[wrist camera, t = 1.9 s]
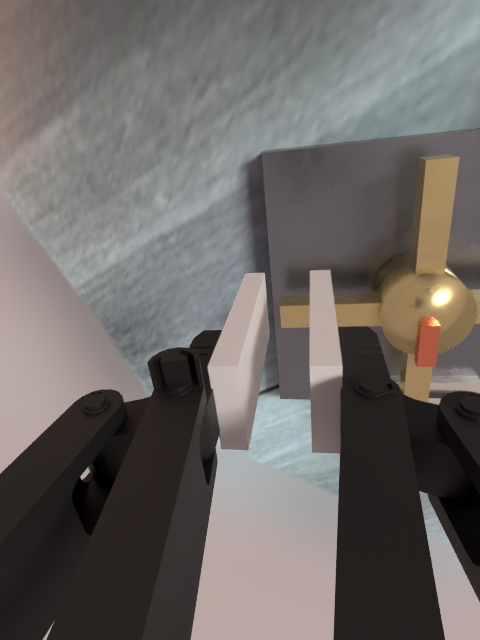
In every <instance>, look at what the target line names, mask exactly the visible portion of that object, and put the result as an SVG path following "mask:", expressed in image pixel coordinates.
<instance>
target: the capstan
mask: <svg viewBox="0 0 480 640" xmlns="http://www.w3.org/2000/svg"><path fill="white" fill-rule="evenodd" d="M458 165H459V157H457V156H454V155H450V154H449V155H438V156H428V157H419V161H418V172H417V184H416V195H415V207H414V218H413V230H412V242H411V253H409V254H404V255H401V256H399V257H396V258H394V259H393V260H391V261H389V262H388V263H387V264H386V265H384V266H383V268H382V269H381V270H380V271H379V272H378V274H377V275H376V277H375V280H374V282H373V286H372V293H360V294H333V295H334V303H335V311H336V319H337V327H350V326H382V329H383V332H384V334H385V336H386V338H387V339H388V341H389V342H390V343H391V344H392V345H393V346H394V347H396V348H397V349H399V350H400V351H402V358H401V369H400V381H399V387H400V389H401V391H402V393H403V394H404V395H406V396H408V397H411V398H413V399H416V400H420V401H424V402H428V399H429V391H430V383H431V376H432V368H433V367H435V366H436V358H437V354H440V353H443V352H446V351H448V350H450V349H452V348H454V347H455V346H457V345H458V344H460V343H461V342H462V341H463V340H464V339H465V338H466V337H467V336H468V335H469V333H470V332H471V330H472V329H473V327H474V324H480V289H474V290H468V288H467V287H466V286H465V285H464V284H463V283H462V282H461V281H460V280H459V278H458V277H457V276H456V275H455V274H454V273H453V272H452V271H451V270H450V269H449V267H448V266H447V265H446V259H447V251H448V243H449V235H450V228H451V220H452V212H453V204H454V196H455V189H456V181H457V173H458ZM280 316H281V328H306V327H310V295H303V296H281V302H280Z"/></svg>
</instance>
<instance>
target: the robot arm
mask: <svg viewBox="0 0 480 640" xmlns="http://www.w3.org/2000/svg"><path fill="white" fill-rule="evenodd" d="M269 336H270V331H269V319H268V307H267V295H266V282H265V273H247V274H245V276H244V278H243V281H242V283H241V286H240V288H239V291H238V293H237V296H236V298H235V300H234V303H233V305H232V308H231V310H230V313H229V315H228V318H227V320H226V322H225V325H224V327H223V330H208V331H203V332H201V333H200V334H199V335H197V336H196V337H195V338H194V339H193V341H192V343H191V345H190V348H180V347H178V348H172V349H167V350H165V351H162V352H159V353H158V354H156V355H154V356H153V357H152V358H151V359H150V360H149V361H148V366H149V370H150V375H151V379H152V383H153V387H154V391H153V393H152V395H151V397H148V398H144V399H140V400H135V401H130V402H125V403H124V401H123V397H122V395H121V394H120V393H119V392H118V391H115V390H111V389H110V390H98V391H94V392H91V393H89V394H87V395H85V396H82V397H81V398H80V399H78V400H77V401H76V402H74V403H73V405H71V406H70V407H69V408H68V409H67V410H66V411H65V412H64V413H63V414H62V415H61V416H60V417H59V418H58V419H57V420H56V421H55V422H54V423H53V424H52V425H51V426H50V427H48V428H47V429H46V430H45V431H44V432H43V433H42V434H41V435H40V436H39V437H38V438H37V439H36V440H35V441H34V442H33V443H32V444H31V445H30V446H29V447H28V448H27V449H26V450H25V451H24V452H23V453H21V454H20V455H19V456H18V457H17V458H16V459H15V460H14V461H13V462H12V463H11V464H10V465H9V466H8V467H7V468H6V469H5V470H4V471H3V472H2V473H1V474H0V640H42V639H43V638H44V636H45V635H46V633H47V631H48V630H49V628H50V627H51V625H52V624H53V622H54V624H53V626H52V628H51V631H50V633H49V635H48V637H47V640H190V639H191V632H192V626H193V620H194V613H195V606H196V600H197V593H198V587H199V580H200V574H201V567H202V561H203V554H204V548H205V541H206V535H207V528H208V521H209V515H210V507H211V502H212V495H213V488H214V482H215V476H216V469H217V454H216V448H215V447H216V444H217V440H218V437H219V438H220V444H221V449H235V450H248V449H249V444H250V438H251V433H252V427H253V422H254V417H255V411H256V406H257V400H258V395H259V390H260V384H261V379H262V373H263V368H264V363H265V357H266V352H267V346H268V341H269ZM309 367H310V397H311V426H312V452H316V453H340V475H339V503H338V504H339V505H338V531H337V533H338V534H337V560H336V589H335V616H334V640H445V637H444V631H443V626H442V620H441V614H440V608H439V604H438V597H437V591H436V585H435V580H434V575H433V568H432V562H431V557H430V551H429V545H428V540H427V534H426V528H425V522H424V517H423V511H422V505H421V499H420V494H419V491H421V492H424V493H427V494H428V498H429V500H430V502H431V504H432V506H433V508H434V510H435V512H436V514H437V517H438V519H439V521H440V523H441V525H442V527H443V529H444V531H445V533H446V535H447V537H448V539H449V541H450V543H451V545H452V547H453V549H454V551H455V553H456V554H457V557H458V559H459V561H460V563H461V565H462V567H463V569H464V571H465V573H466V575H467V577H468V579H469V581H470V583H471V585H472V587H473V589H474V591H475V593H476V595H477V597H478V599H479V601H480V393H476V392H472V391H456V392H452V393H448V394H446V395H445V396H444V397H442V398H441V400H440V403H439V405H438V404H433V403H428V402H424V401H420V400H416V399H413V398H411V397H408V396H406V395H404V394H403V393H402V391H401V389H400V387H399V385H398V384H397V383H396V382H394V381H393V380H392V379H391V378H390V375H389V371H388V368H387V365H386V362H385V358H384V355H383V353H382V348H381V345H380V342H379V339H378V335H377V334H376V333H375V332H374V331H373V330H372V329H371V328H369V327H368V326H350V327H337V319H336V311H335V303H334V295H333V287H332V280H331V272H330V270H312V271H310V358H309ZM87 467H88V468H89V470H90V473H89V474H88V475H87V476H86V477H85V478H84V479H83V480H81V478H80V476H81V475H82V474H83V472H84V471H85V470H86V469H87Z"/></svg>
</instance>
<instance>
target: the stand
mask: <svg viewBox="0 0 480 640" xmlns="http://www.w3.org/2000/svg"><path fill="white" fill-rule="evenodd" d="M449 154H450V155H454V156H457V157H459V165H458V173H457V181H456V189H455V196H454V204H453V212H452V220H451V228H450V235H449V243H448V251H447V259H446V265H447V266H448V267H449V269H450V270H451V271H452V272H453V273H454V274H455V275H456V276H457V277H458V278H459V280H460V281H461V282H462V283H463V284H464V285H465V286H466V287H467V288H468V290H474V289H480V128H479V129H469V130H460V131H450V132H440V133H431V134H421V135H411V136H402V137H392V138H383V139H373V140H363V141H354V142H344V143H335V144H325V145H315V146H306V147H296V148H286V149H277V150H267V151H263V152H262V165H263V179H264V192H265V205H266V218H267V231H268V245H269V258H270V271H271V284H272V297H273V311H274V324H275V337H276V350H277V363H278V377H279V390H280V399H311V397H310V367H309V358H310V327H306V328H281V316H280V302H281V296H303V295H310V271H312V270H330V272H331V280H332V287H333V294H360V293H372V286H373V282H374V280H375V277H376V275H377V274H378V272H379V271H380V270H381V269H382V268H383V266H384V265H386V264H387V263H388V262H389V261H391V260H393V259H394V258H396V257H399V256H401V255H404V254H409V253H411V242H412V230H413V218H414V207H415V195H416V184H417V172H418V161H419V157H428V156H438V155H449ZM368 327H369V328H371V329H372V330H373V331H374V332H375V333H376V334H377V335H378V339H379V342H380V345H381V348H382V353H383V355H384V358H385V362H386V365H387V368H388V371H389V375H390V378H391V379H392V380H393V381H394V382H396V383H397V384H398V385H399V381H400V369H401V358H402V351H400V350H399V349H397V348H396V347H394V346H393V345H392V344H391V343H390V342H389V341H388V339H387V338H386V336H385V334H384V332H383V329H382V326H368ZM456 391H472V392H476V393H480V324H474V327H473V329H472V330H471V332H470V333H469V335H468V336H467V337H466V338H465V339H464V340H463V341H462V342H461V343H460V344H458V345H457V346H455V347H454V348H452V349H450V350H448V351H446V352H443V353H440V354H437V358H436V366H435V367H433V368H432V376H431V383H430V391H429V399H428V403H433V404H438V405H439V403H440V400H441V398H442V397H444V396H445V395H446V394H448V393H452V392H456Z"/></svg>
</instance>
